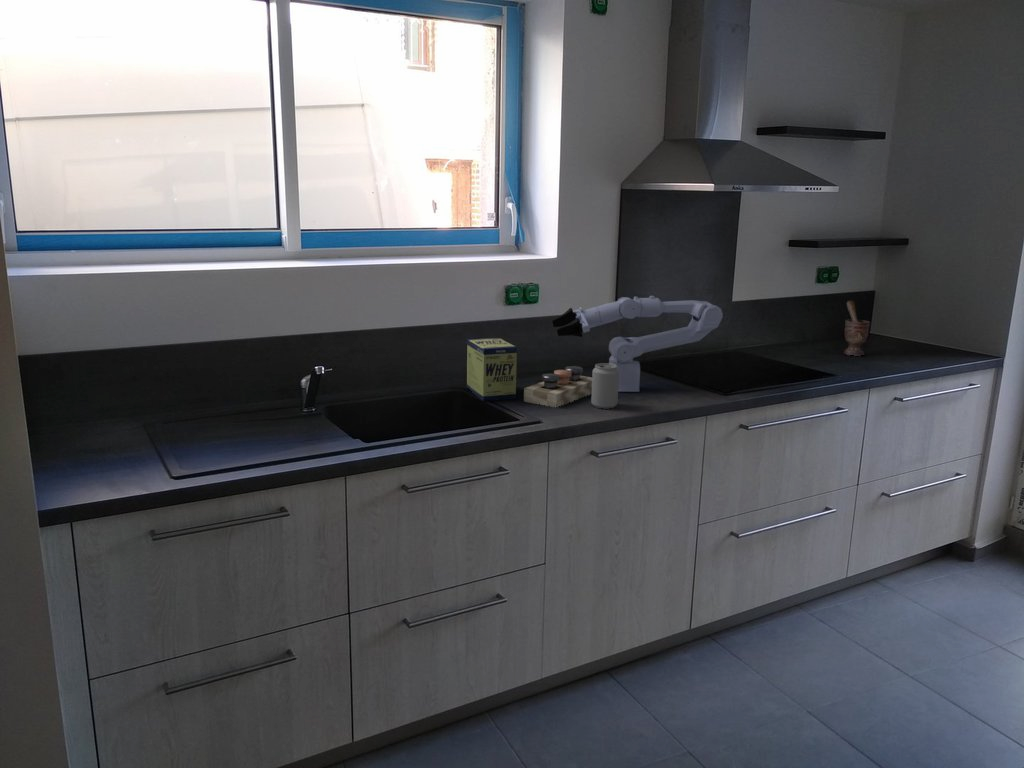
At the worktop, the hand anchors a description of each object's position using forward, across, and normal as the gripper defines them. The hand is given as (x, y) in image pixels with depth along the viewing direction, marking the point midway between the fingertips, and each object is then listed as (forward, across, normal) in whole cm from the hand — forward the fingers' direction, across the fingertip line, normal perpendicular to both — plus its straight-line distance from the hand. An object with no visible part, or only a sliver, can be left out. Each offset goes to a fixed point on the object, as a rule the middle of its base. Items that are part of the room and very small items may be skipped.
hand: (554, 328), depth 249 cm
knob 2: (-1, +7, +16) cm, 17 cm away
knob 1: (+7, +16, +12) cm, 21 cm away
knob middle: (+3, +11, +14) cm, 18 cm away
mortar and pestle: (-112, -43, +62) cm, 135 cm away
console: (+4, +12, +17) cm, 21 cm away
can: (-6, +23, +18) cm, 30 cm away
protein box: (+24, +8, +12) cm, 28 cm away
